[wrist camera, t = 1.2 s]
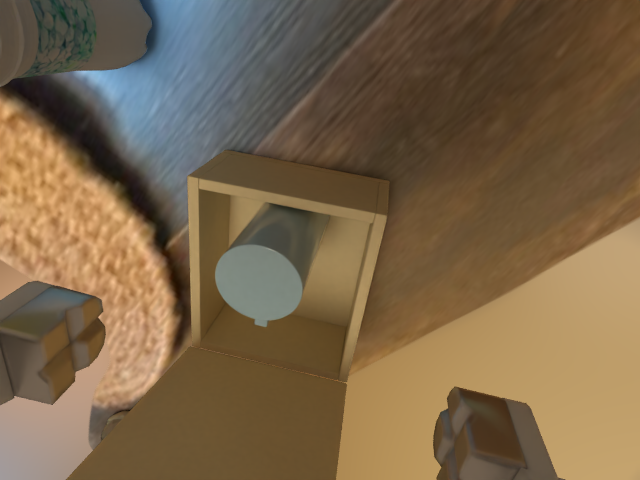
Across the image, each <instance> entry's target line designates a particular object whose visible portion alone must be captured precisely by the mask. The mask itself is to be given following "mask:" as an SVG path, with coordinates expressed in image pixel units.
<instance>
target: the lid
mask: <svg viewBox="0 0 640 480" xmlns="http://www.w3.org/2000/svg"><path fill="white" fill-rule="evenodd" d="M346 387H347V384H346V383H342V382H338V381H334V380H330V379H326V378H321V377H317V376H313V375H309V374H305V373H300V372H296V371H292V370H288V369H284V368H279V367H275V366H271V365H267V364H263V363H258V362H254V361H250V360H246V359H241V358H237V357H233V356H229V355H225V354H220V353H216V352H212V351H208V350H204V349H199V348H195V347H191V346H190V347H189V348H188V349H187V350H186V351H185V352H184V353H183V354H182V356H181V357H180V358H179V359H178V360H177V361H176V362H175V363H174V364H173V365H172V366H171V367H170V368H169V370H168V371H167V372H166V373H165V374H164V375H163V376H162V377H161V378H160V379H159V380H158V381H157V382H156V383H155V385H154V386H153V387H152V388H151V389H150V390H149V391H148V392H147V393H146V394H145V395H144V396H143V397H142V398H141V400H140V401H139V402H138V403H137V404H136V405H135V406H134V407H133V408H132V409H131V410H130V411H129V412H128V414H127V415H126V416H125V417H124V418H123V419H122V420H121V421H120V422H119V423H118V424H117V425H116V426H115V427H114V429H113V430H112V431H111V432H110V433H109V434H108V435H107V436H106V437H105V438H104V439H103V440H102V441H101V442H100V444H99V445H98V446H97V447H96V448H95V449H94V450H93V451H92V452H91V453H90V454H89V455H88V456H87V458H86V459H85V460H84V461H83V462H82V463H81V464H80V465H79V466H78V467H77V468H76V469H75V470H74V471H73V473H72V474H71V475H70V476H69V477H68V478H67V479H66V480H336V474H337V465H338V457H339V448H340V439H341V430H342V422H343V413H344V404H345V395H346Z"/></svg>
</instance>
